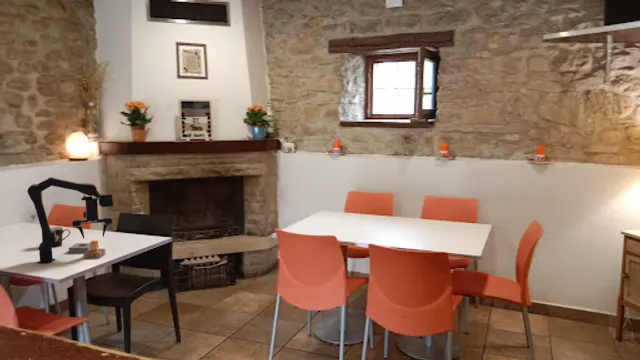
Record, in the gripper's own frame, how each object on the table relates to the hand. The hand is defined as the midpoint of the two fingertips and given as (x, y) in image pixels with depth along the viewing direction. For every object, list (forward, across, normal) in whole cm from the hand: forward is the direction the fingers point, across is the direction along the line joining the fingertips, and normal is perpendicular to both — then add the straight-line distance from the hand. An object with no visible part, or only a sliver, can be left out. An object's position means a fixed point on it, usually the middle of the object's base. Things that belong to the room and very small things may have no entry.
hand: (93, 237), depth 266 cm
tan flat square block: (+10, 0, 0) cm, 10 cm away
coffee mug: (+10, +19, -32) cm, 39 cm away
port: (+10, +6, -15) cm, 19 cm away
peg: (+10, 0, 0) cm, 10 cm away
